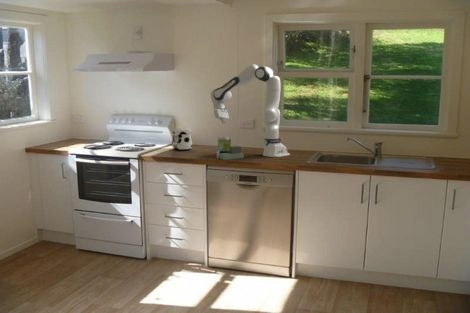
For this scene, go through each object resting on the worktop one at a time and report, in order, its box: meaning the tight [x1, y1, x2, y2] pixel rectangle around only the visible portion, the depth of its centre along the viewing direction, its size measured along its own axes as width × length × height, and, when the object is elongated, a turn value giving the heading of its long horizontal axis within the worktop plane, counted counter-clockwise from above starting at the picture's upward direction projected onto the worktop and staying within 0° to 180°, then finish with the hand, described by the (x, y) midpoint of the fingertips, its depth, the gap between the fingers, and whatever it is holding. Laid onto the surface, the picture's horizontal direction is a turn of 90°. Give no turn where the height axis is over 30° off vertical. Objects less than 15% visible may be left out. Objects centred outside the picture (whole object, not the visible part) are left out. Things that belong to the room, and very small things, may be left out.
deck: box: [216, 145, 245, 161], centre depth 357 cm, size 20×9×9 cm, turn 119°
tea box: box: [217, 136, 232, 158], centre depth 367 cm, size 15×10×15 cm
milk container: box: [172, 127, 193, 151], centre depth 396 cm, size 17×17×18 cm
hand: (224, 123), depth 380 cm, fingers closed
